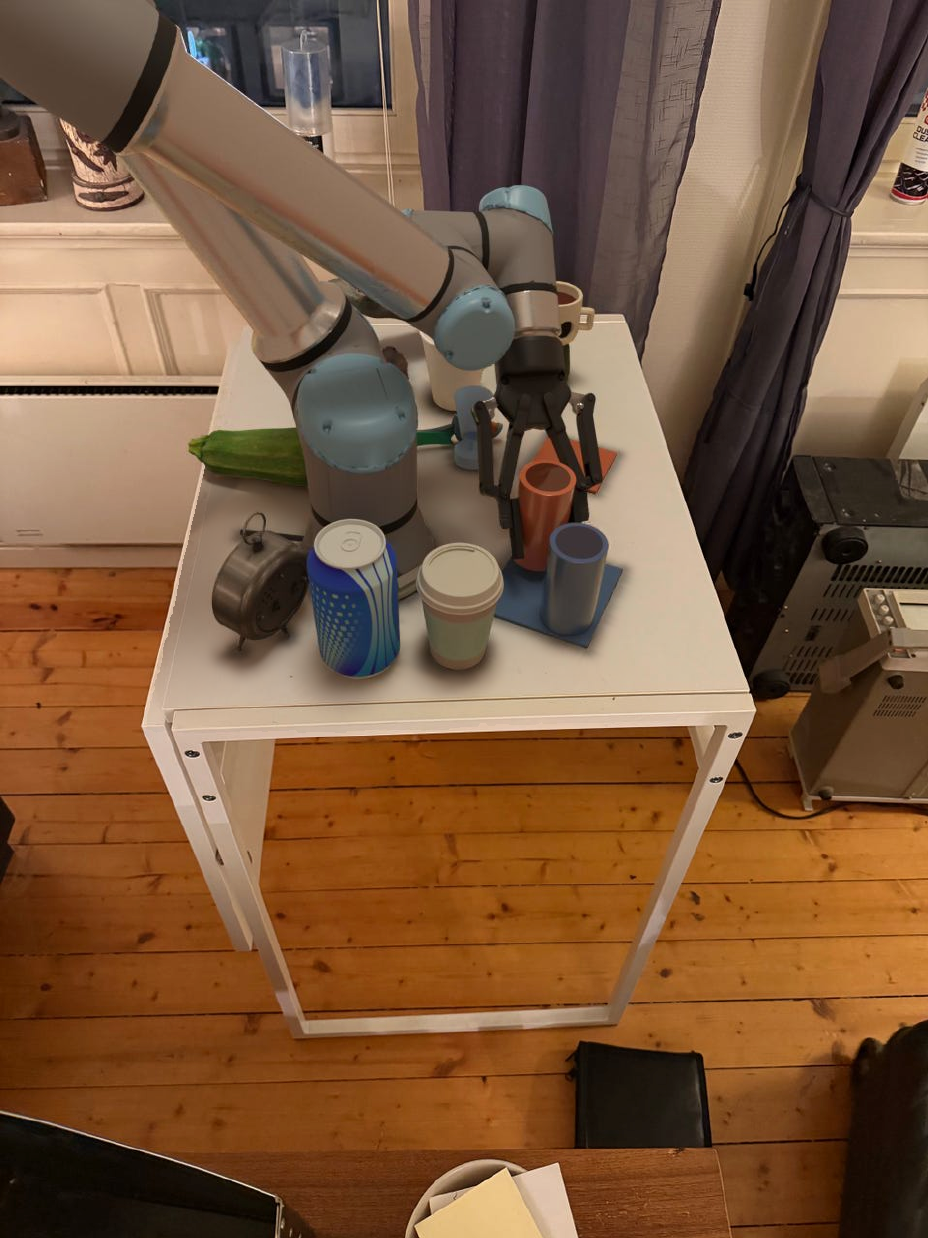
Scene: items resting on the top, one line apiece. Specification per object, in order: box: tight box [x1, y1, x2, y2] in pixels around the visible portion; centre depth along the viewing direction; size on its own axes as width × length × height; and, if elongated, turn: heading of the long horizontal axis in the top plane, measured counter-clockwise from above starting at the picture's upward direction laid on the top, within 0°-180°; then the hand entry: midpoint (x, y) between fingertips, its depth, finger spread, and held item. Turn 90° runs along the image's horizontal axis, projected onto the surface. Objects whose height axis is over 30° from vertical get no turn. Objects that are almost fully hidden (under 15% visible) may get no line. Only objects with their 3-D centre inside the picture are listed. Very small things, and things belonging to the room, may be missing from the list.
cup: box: [418, 330, 484, 412], centre depth 119 cm, size 10×10×11 cm
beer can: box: [307, 519, 401, 680], centre depth 86 cm, size 8×8×16 cm
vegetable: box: [187, 426, 308, 488], centre depth 108 cm, size 7×7×20 cm
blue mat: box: [494, 555, 624, 649], centre depth 98 cm, size 13×13×1 cm
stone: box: [381, 345, 410, 381], centre depth 126 cm, size 11×2×5 cm
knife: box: [417, 413, 504, 447], centre depth 114 cm, size 20×2×5 cm, turn 105°
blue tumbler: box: [539, 522, 610, 636], centre depth 91 cm, size 6×6×11 cm
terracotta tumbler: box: [510, 460, 576, 571], centre depth 95 cm, size 6×6×11 cm
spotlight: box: [453, 385, 494, 471], centre depth 111 cm, size 5×10×7 cm
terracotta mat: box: [531, 436, 618, 495], centre depth 114 cm, size 10×9×1 cm
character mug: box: [556, 280, 596, 381], centre depth 123 cm, size 11×7×13 cm, turn 83°
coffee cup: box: [416, 542, 504, 671], centre depth 88 cm, size 8×8×12 cm
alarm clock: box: [210, 510, 310, 653], centre depth 87 cm, size 11×5×16 cm, turn 148°
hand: (547, 555), depth 95 cm, fingers closed on terracotta tumbler, 6 cm apart
